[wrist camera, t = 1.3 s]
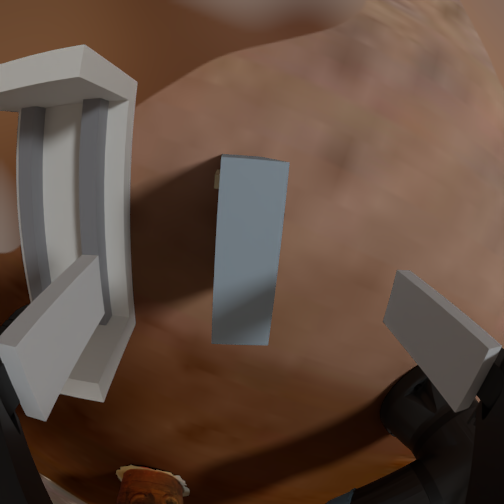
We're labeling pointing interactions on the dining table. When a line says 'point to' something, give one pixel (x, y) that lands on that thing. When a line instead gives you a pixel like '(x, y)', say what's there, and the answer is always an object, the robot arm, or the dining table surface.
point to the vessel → (149, 486)
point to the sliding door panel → (247, 247)
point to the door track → (76, 188)
